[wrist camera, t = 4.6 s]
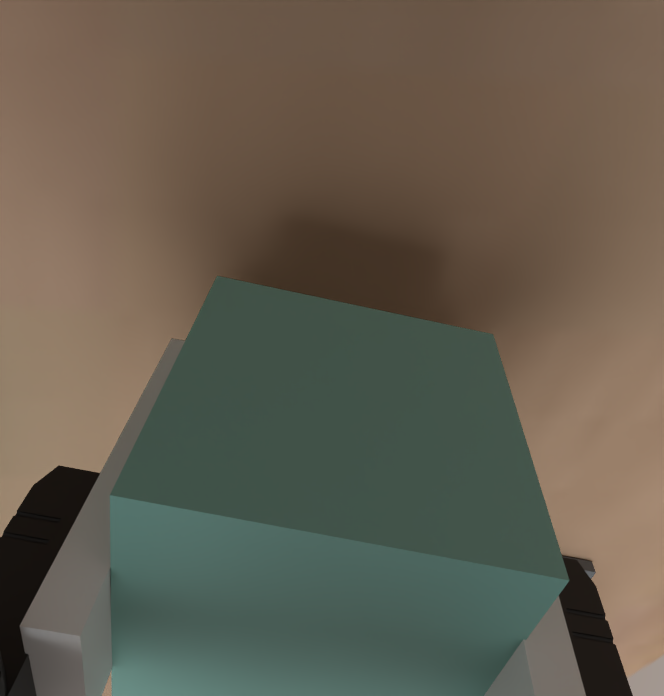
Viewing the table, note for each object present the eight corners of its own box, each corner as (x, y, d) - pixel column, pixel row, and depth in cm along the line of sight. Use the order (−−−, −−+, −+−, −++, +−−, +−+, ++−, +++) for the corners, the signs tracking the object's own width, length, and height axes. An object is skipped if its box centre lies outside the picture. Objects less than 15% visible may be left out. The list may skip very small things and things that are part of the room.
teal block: (217, 275, 12) (109, 495, 7) (493, 334, 13) (569, 580, 8) (195, 473, 16) (111, 716, 11) (414, 514, 16) (432, 768, 11)
